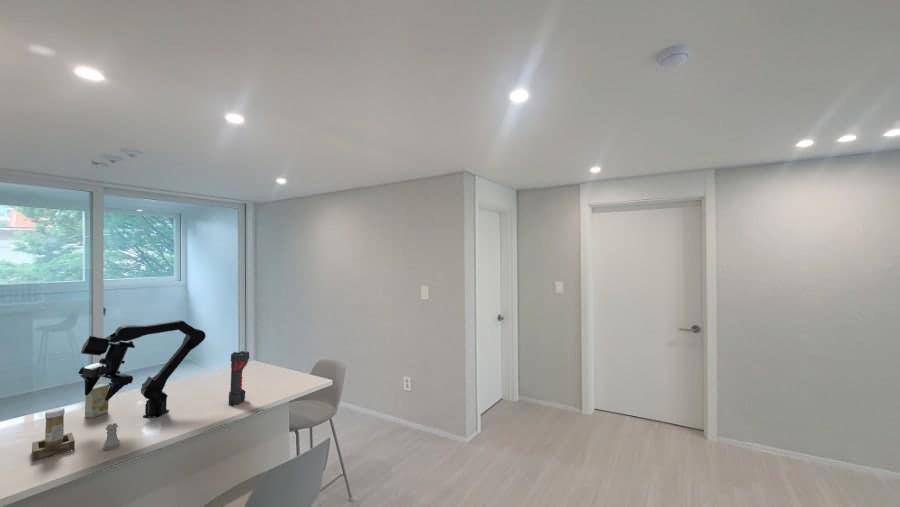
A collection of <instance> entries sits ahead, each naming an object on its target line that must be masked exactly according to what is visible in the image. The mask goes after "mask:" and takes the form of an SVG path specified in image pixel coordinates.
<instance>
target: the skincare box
mask: <svg viewBox="0 0 900 507" xmlns="http://www.w3.org/2000/svg"><path fill="white" fill-rule="evenodd" d="M109 388H110V386H109V383H108V384H107V383H100V384H95V386H94V387H93V389H92V390H91V392H90V393H89V394H88V395H85V402H84V418H91V419H92V418H95V417H99V416H102V415H105V414H107V413H109V401H110V399H109V400H108V401H105V398H106V395H107V393H108V390H109Z"/></svg>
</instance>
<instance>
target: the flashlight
mask: <svg viewBox="0 0 900 507" xmlns="http://www.w3.org/2000/svg"><path fill="white" fill-rule="evenodd" d="M249 360H250V351H244V350H242V351H239V352H237V351H234V352H232V353H231V354H230V363H231V364H230V390H229V392H228V406H232V405H231V404H234V405H236V404H237V405H240V404H239V403H242V402H243V401H244V402H245V400H246V398H245V397H246V390H244V389H243V370H245V367H246V366H247V364H248V362H249ZM244 402H243V403H244Z"/></svg>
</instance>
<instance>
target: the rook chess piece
mask: <svg viewBox="0 0 900 507" xmlns="http://www.w3.org/2000/svg"><path fill="white" fill-rule="evenodd" d="M118 427H119V426H118V424H117V422H113V423H109V424H107V426H106V427H105V430H106V431H107V432H106V439H105V440H106V441H104V443H103V445H102V449H103V450H105V451H111V450H110V449H112V450H114V448H115V449H117V448H118V447H119V446H120V445H121V443H120V439H119V438H118V434H117V432H118V430H117V428H118ZM116 447H117V448H116Z"/></svg>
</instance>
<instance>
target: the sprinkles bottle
mask: <svg viewBox="0 0 900 507" xmlns="http://www.w3.org/2000/svg"><path fill="white" fill-rule="evenodd" d="M44 414H45V415H44V418H45V430H44V433H45V435H44V439H45V447H48V446H52V445H56V444H60V443H63V435H64V434H65V433H64V432H65V431H64V429H65V424H64V421H65V420H64V419H65V417H64V415H65V408H64V407H57V408H51V409H49V410H47V411H45V413H44Z"/></svg>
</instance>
